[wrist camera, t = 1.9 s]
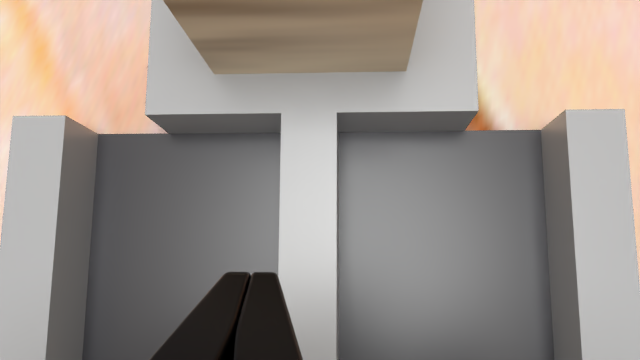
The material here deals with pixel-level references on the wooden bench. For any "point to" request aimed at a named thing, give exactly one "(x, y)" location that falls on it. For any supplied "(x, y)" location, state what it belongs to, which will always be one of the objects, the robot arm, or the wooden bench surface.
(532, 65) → the wooden bench surface
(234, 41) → the birch block
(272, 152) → the trap deck
